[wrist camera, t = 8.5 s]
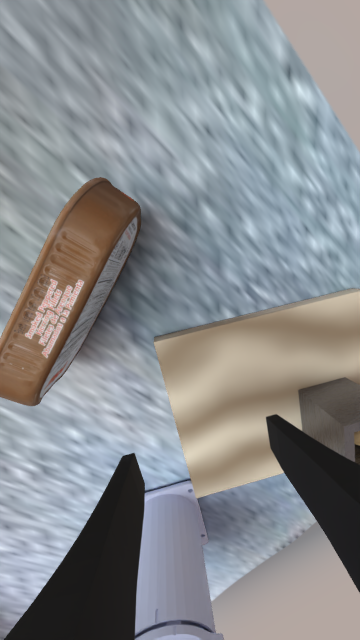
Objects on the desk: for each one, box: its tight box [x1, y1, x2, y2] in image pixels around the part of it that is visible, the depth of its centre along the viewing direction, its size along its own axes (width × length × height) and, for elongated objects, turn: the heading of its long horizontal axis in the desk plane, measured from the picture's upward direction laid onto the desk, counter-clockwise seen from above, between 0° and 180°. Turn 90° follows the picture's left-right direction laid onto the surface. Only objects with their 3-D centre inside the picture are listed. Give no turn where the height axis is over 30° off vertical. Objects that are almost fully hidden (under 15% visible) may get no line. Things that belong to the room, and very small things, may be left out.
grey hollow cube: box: [298, 377, 360, 465], centre depth 18 cm, size 5×5×5 cm
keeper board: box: [154, 289, 360, 498], centre depth 18 cm, size 18×20×6 cm
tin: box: [0, 177, 141, 406], centre depth 13 cm, size 15×3×8 cm, turn 150°
